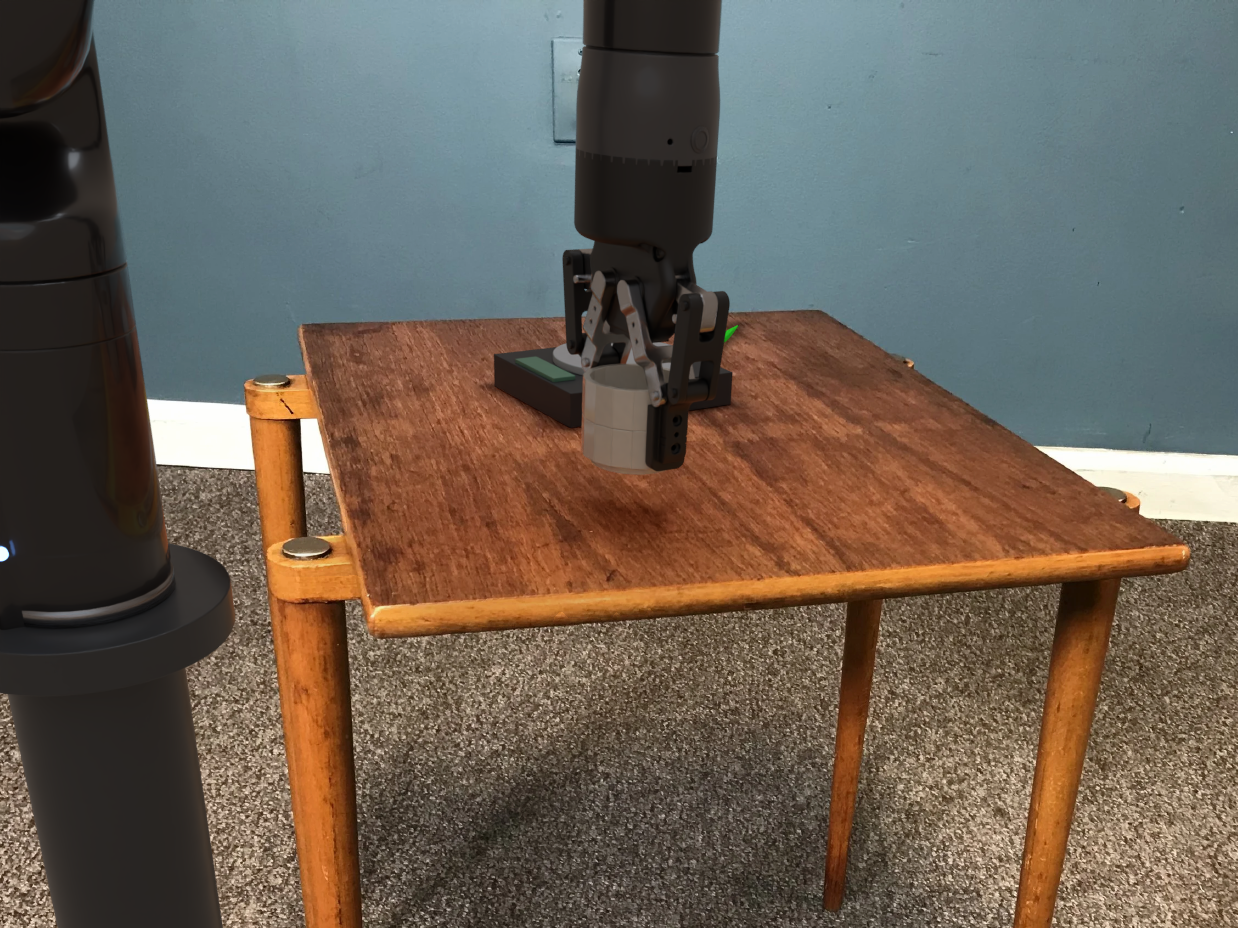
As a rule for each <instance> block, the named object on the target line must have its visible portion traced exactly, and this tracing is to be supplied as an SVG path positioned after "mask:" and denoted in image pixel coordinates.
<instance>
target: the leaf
mask: <svg viewBox="0 0 1238 928" xmlns="http://www.w3.org/2000/svg"><path fill="white" fill-rule="evenodd" d="M739 326H740V324H737V325H735V326H733V327H731V328H729V329H726V333H725V340H724V344H725V343H726V342H727V341H728V340H729V339H730V338H731V337H732V336H733V335H734V333H735V332H736V330H737V329H738V328H739Z"/></svg>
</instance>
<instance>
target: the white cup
mask: <svg viewBox="0 0 1238 928" xmlns="http://www.w3.org/2000/svg"><path fill="white" fill-rule="evenodd" d="M663 372H664V377H665V382H666V383H668V380H669V373H670V369H669V368H664V367H663ZM650 404H651V401H650V398H649V393H648V388H647V383H646V377H645V372H644V369H643V368H642V367H641V366H639V365H637V364H610V365H602V366H597V367H594V368H591V369H588V370H587V371H586V372H585V373H584V374H583V392H582V426H581V432H580V433H581V434H580V435H581V436H580V437H581V439H580V440H581V441H580V450H581V453H582V456H583V457H585V458H586V459H588V460H590V462H591V463H592V464H593V465H594V466H595V467H597V468H599V469H601V470H604V471H608V472H609V473H615V474H621V475H632V476H646V475H656V474H661V473H664V472H667V471H668V470H665V471H655V470H653V469H651V468H649V467H648V466H647V465H646V463H645V456H646V434H647V412H648V405H650Z"/></svg>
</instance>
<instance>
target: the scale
mask: <svg viewBox="0 0 1238 928" xmlns="http://www.w3.org/2000/svg"><path fill="white" fill-rule="evenodd" d="M653 344H654V345H655V346H668V345H670V344H669V343H666V342H658V343H653ZM612 345H613V343H611V346H612ZM626 364H636V362H635V360H634V356H633V351H632V348H631V351H630V354H629V357H628V360H627V363H626ZM700 364H701V361H700V362H694V363H693V370H694V375H695V378H699V371H700ZM670 365H671V363H662V367H664V368H669V369H670ZM584 373H585V372H584V371H583V369H582V366H581V357H580V356H579V355H578V354H575V355H571V354H570V353H569V352H568V350H567V345H566V342H565V343H562V344H559V345H558V346H554V347H545V348H535V349H526V350H517V351H509V352H500V353H494V354H493V379H494V380H493V382H494V387H496V388H497V389H499V390H501V391H503V392H504V393H507V394H508V395H510V396H511V397H514V398H515V399H517V400H518V401H521V402H523V403H525V404H527V405H528V406H529V407H532V408H533V409H535V410H537V411H539V412H541V413H543V414H544V415H546V416H548V417H550V418H551V419H553V420H554V421H557V422H559V423H560V424H562V425H564V426H566V427H567V428H569V429H573V428H580V427H582V392H583V374H584ZM732 391H733V371H730V370H729V369H726V368H724V367H721V366H720V373H719V380H718V386H717V393H716V396H715V398H714V399H713V400H706V401H697V402H693V403H692V404H691V405H690V407H689V411H694V410H695V411H696V410H701V409H709V408H714V407H715V408H716V407H722V406H723V407H724V406H729V405H731V404H732Z"/></svg>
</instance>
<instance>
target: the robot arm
mask: <svg viewBox="0 0 1238 928" xmlns="http://www.w3.org/2000/svg"><path fill="white" fill-rule="evenodd" d="M722 11H723V0H583V2H582V44H583V46H582V48H581V49H582V50H581V61H580V69H579V76H578V81H577V88H576V89H577V90H576V104H575V156H574V157H575V159H574V160H575V161H574V163H575V164H574V205H573V206H574V208H573V209H574V211H573V213H574V214H573V225H574V228H575V230H576V231H577V233H578V234H579V235H580V236H582V237H583V238H585V239H588V240H590V241H594V242H593V246H592V248H576V249H574V248H573V249H565V250H564V251H563V253H562V280H563V281H562V282H563V301H564V303H563V305H564V323H565V325H564V326H565V343H566V345H567V350H568V352H569V353H570V354H571V355H575V354H578V355H579V356H580V357H581V366H582V369H583V371H584V372H586V371H587V370H588V369H591V368H594V367H597V366H602V365H610V364H626V363H627V360H628V357H629V354H630V351H631V348H632V351H633V356H634V360H635V362H636V364H637V365H639V366H641V367H642V368H643V369H644V372H645V377H646V383H647V388H648V393H649V398H650V401H651V404H650V405H648V412H647V434H646V456H645V463H646V465H647V466H648V467H649V468H651V469H653V470H655V471H665V470H667V471H671V470H676V469H679V468H681V467H683V465H684V463H685V458H686V455H687V442H688V437H687V436H688V425H689V411H690V410H689V407H690V405H691V404H692V403H693V402H697V401H706V400H713V399H714V398H715V396H716V393H717V386H718V380H719V373H720V367H721V366H722V358H723V352H724V345H725V343H724V340H725V333H726V331H727V326H728V319H729V312H730V307H731V301H730V297H729V295H728V293H727V292H726V291H725V290H719V291H717V290H716V291H712V290H709V291H708V290H706V289H704V288H703V287H700V286H699V285H698V284H697V276H696V273H695V267H694V251H695V249H697V247H698V246H699V245H701V244H704V243H706V242H707V241H708V240H709V239H710V238H711V237H712V234H713V228H714V213H715V200H716V199H715V197H716V195H715V194H716V184H717V183H716V182H717V165H718V149H719V148H718V147H719V135H720V134H719V131H720V117H721V87H720V72H719V71H720V70H719V67H720V66H719V61H720V60H719V59H720V56H719V55H718V54H719V52H720V43H721V27H722ZM94 18H95V0H0V629H1V630H8V629H14V628H20V627H37V628H75V627H85V626H93V625H98V624H104V623H109V622H114V621H117V620H121V619H125V618H128V617H131V616H134V615H137V614H140V613H142V612H145V611H147V610H149V609H151V608H153V607H155V606H157V605H158V604H160V603H161V602H163V601H164V600H165V599H166V598H168V597H169V596H170V594H171V593H172V592H173V590H174V588H175V576H174V569H173V564H172V562H171V561H170V558H171V555H170V548H169V545H168V543H169V541H168V534H167V527H166V520H165V514H164V506H163V505H164V504H163V499H162V492H161V486H160V479H159V472H158V466H157V465H158V464H157V459H156V458H157V457H156V451H155V444H154V437H153V430H152V423H151V417H150V416H151V415H150V411H149V410H150V409H149V403H148V396H147V389H146V383H145V376H144V370H143V369H144V368H143V361H142V356H141V349H140V341H139V335H138V328H137V327H138V326H137V321H136V320H137V319H136V313H135V307H134V299H133V292H132V285H131V279H130V272H129V266H128V265H129V264H128V253H127V247H126V241H125V233H124V225H123V216H122V210H121V203H120V197H119V192H118V185H117V179H116V173H115V167H114V161H113V155H112V150H111V144H110V136H109V131H108V124H107V115H106V107H105V102H104V101H105V100H104V95H103V87H102V82H101V81H102V80H101V73H100V66H99V58H98V52H97V51H98V50H97V44H96V37H95V30H94V21H95V19H94ZM585 312H586V315H585V318H584V322H583V319H582V318H583V314H584V313H585ZM583 331H584V332H583ZM672 337H673V343H672V344H669V345H668V346H655V345H654V344H653V343H658V342H662V343H666V342H667V343H668V342H670V339H671V338H672ZM611 343H613V345H612V346H611ZM700 361H701V364H700V371H699V378H695V375H694V370H693V363H694V362H700ZM662 363H671V365H670V373H669V380H668V383H666V382H665V377H664V372H663V367H662ZM665 472H666V471H665Z"/></svg>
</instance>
